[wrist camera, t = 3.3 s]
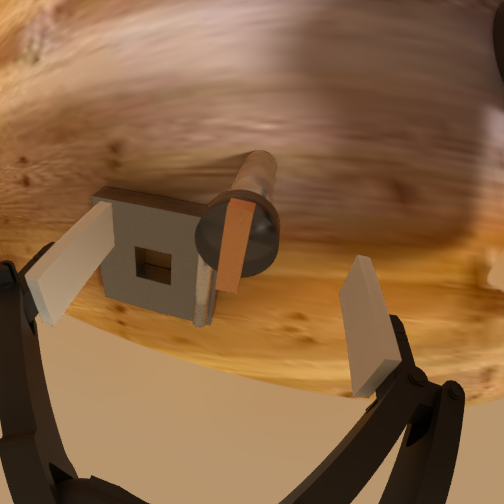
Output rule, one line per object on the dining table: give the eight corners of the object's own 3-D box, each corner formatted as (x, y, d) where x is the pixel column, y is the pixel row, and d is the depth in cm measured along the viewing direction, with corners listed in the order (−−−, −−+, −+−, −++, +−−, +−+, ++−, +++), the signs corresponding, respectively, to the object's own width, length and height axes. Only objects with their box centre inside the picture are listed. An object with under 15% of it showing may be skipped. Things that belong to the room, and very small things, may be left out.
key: (240, 135, 25) (192, 199, 14) (290, 145, 25) (288, 220, 14) (231, 186, 28) (186, 282, 16) (278, 196, 28) (265, 300, 16)
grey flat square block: (104, 186, 29) (83, 202, 26) (230, 210, 29) (221, 231, 26) (113, 284, 37) (99, 304, 34) (214, 310, 37) (207, 335, 34)
